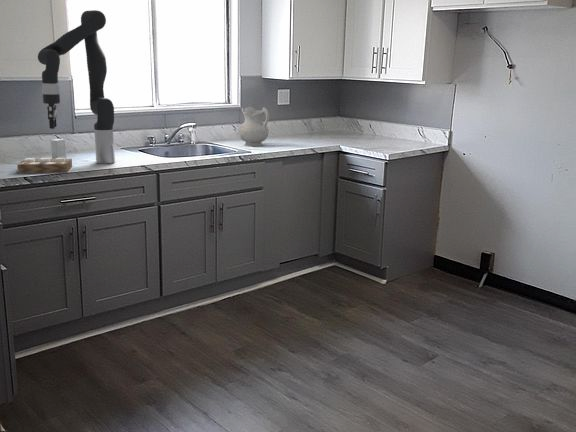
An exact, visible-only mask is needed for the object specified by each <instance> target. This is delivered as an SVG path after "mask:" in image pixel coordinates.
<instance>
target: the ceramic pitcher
mask: <svg viewBox="0 0 576 432" xmlns="http://www.w3.org/2000/svg"><path fill="white" fill-rule="evenodd" d="M261 108H262V110H258V109H257V110H256V108H255V107H252V106H249V105H248V106H246V107H245V108H243V107H241V111H242V114H243V117H244V121H243V123H242V124H240V126H239V127H238V130H237V131H238V136H239V137H240V140H242V142H245V143H244V146H247V147H261V146H262V147H263V142H265V141H266V140H267V138H268V136H269V130H270V129H269V127H268V123H269V122H270V121H269V120H270V114H269V110H268V109H269V108H268V107H266V106H264V107H263V106H262V107H261ZM264 114H265V120H264V121H263V117H264Z"/></svg>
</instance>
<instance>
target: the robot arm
mask: <svg viewBox="0 0 576 432" xmlns="http://www.w3.org/2000/svg"><path fill="white" fill-rule="evenodd" d="M106 22H107V17H106V15H105V14H104V13H103V12H102V11H100V10H97V9H95V10H85V11H83V12H82V14H81V15H80V25H78V26H77V27H75V28H73V29H70V30H69V31H67V32H65V33H64V34H62V35H61V36H60V37H58V38H57V39H56V40H55V41H54V42H53V43H51V44H48V45H46V46H45V47H43V48H42V49H41V50H39V52H38V53H37V60H38V62H39V63H40V64H42V65H44V66H45V70H43V71H42V73H41V81H42V83H41V85H42V86H41V90H42V92H41V93H42V103H43V104H47V105H48V106H47V107H46V111H47V119H48V121H49V122H48V123H49V129H51V130H52V129H53V130H54V129H55V128H56V127H58V126H57V125H58V124H57V117H58V112H57V110H58V109H57V105H58V104H60V103H61V97H60V86H59V70H60V64H61V59H60V56H63V55H66V54H67V53H68V52H70V51H71V50H73V48H75V47H76V46H77V45H79V43H81V42H82V41H83V40H84V45H85V46H84V47H85V55H86V66H87V72H88V73H87V74H88V83H89V108H90V110H91V113H92V114H94V115H95V116H97V117H96V118H97V119H96V122H95V123H94V124H93V128H94V133H93V134H94V147H95V148H94V149H95V163H97V164H114V163H115V162H116V158H115V157H116V153H115V142H114V124H115V107H114V103H113V102H112V100H111V99H109V98H107V97H105V94H104V84H105V80H106V77H107V71H108V68H107V67H108V66H107V58H106V55H105V52H104V51H103V49H102V46H101V45H100V43H99V40H98V31H100V30H102V29H103V28H104V27H105V26H106V24H107V23H106Z"/></svg>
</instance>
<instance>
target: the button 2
mask: <svg viewBox="0 0 576 432" xmlns="http://www.w3.org/2000/svg"><path fill="white" fill-rule="evenodd" d="M66 159H67V158H66ZM66 159H65V158H56V159H55V161H56V162H65V161H66Z"/></svg>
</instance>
